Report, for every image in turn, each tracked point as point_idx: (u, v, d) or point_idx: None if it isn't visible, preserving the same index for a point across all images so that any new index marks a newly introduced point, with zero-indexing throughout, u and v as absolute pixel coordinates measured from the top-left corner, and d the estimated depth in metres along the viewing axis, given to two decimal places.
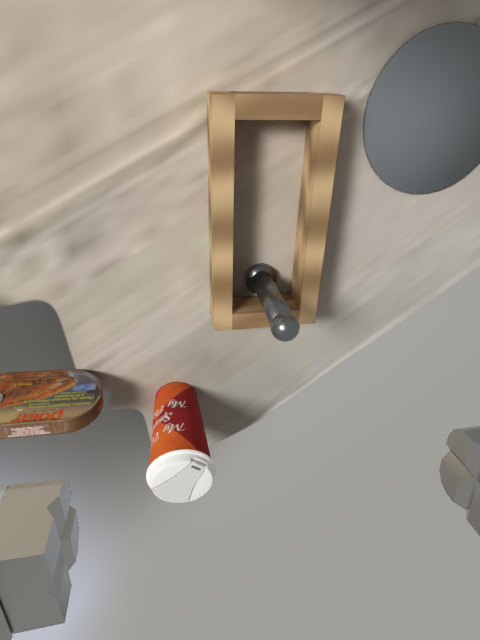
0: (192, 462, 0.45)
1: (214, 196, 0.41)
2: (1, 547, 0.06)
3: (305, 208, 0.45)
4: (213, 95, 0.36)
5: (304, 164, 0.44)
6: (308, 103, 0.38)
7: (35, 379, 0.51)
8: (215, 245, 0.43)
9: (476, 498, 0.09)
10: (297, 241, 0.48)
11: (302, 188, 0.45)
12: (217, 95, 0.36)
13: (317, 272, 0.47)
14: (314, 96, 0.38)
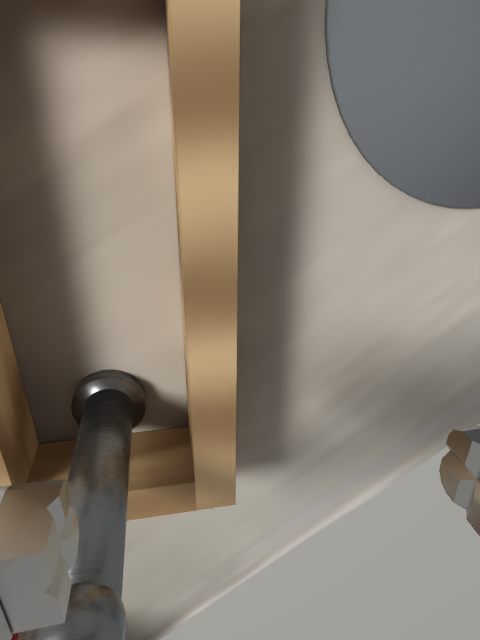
0: None
1: None
2: (1, 547, 0.06)
3: (180, 244, 0.17)
4: None
5: (172, 129, 0.17)
6: None
7: None
8: None
9: (476, 498, 0.09)
10: (183, 321, 0.20)
11: (176, 194, 0.18)
12: None
13: (225, 402, 0.19)
14: None
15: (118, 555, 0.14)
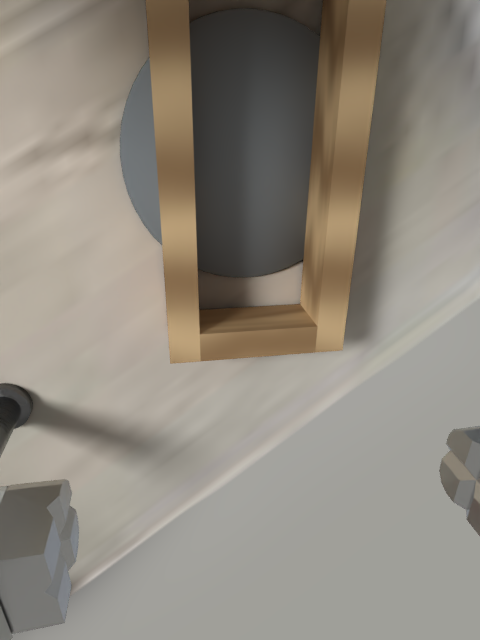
0: None
1: (155, 103, 0.22)
2: (1, 547, 0.06)
3: (324, 144, 0.25)
4: None
5: (320, 69, 0.25)
6: None
7: None
8: (162, 203, 0.24)
9: (476, 498, 0.09)
10: (310, 211, 0.29)
11: (317, 114, 0.26)
12: None
13: (346, 259, 0.27)
14: None
15: None
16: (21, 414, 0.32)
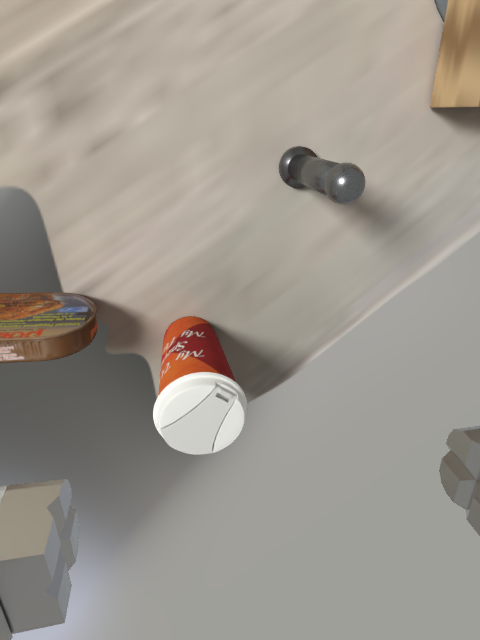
0: (217, 388, 0.32)
1: None
2: (1, 547, 0.06)
3: None
4: None
5: None
6: None
7: (9, 301, 0.39)
8: None
9: (476, 498, 0.09)
10: None
11: None
12: None
13: None
14: None
15: None
16: None
